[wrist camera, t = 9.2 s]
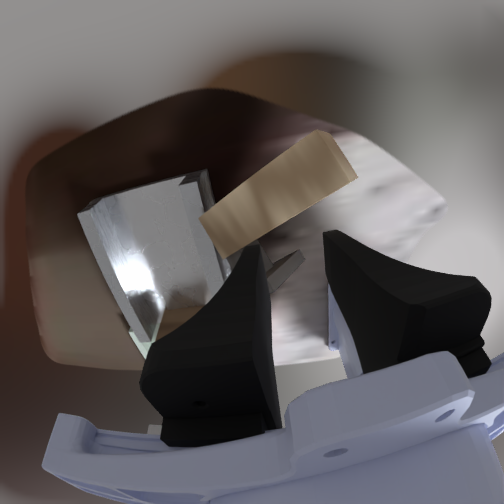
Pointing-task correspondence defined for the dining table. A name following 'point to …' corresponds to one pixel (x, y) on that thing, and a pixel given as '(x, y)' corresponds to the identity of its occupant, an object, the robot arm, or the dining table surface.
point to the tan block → (277, 200)
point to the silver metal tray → (156, 248)
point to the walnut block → (175, 319)
